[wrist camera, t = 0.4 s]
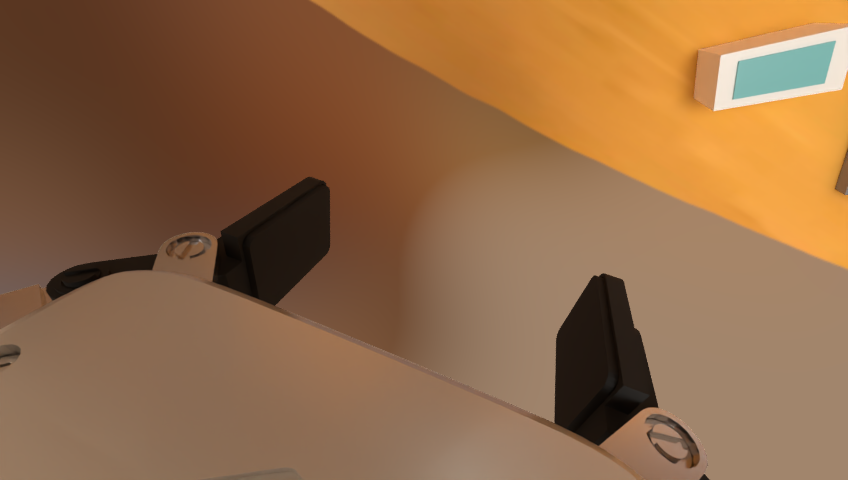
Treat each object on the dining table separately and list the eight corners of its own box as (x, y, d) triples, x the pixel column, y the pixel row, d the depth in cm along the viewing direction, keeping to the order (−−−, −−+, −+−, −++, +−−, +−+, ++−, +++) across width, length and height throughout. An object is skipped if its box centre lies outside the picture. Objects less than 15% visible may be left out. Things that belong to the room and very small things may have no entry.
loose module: (698, 49, 33) (721, 55, 28) (813, 22, 29) (862, 24, 24) (693, 98, 35) (714, 111, 30) (799, 78, 31) (843, 89, 26)
